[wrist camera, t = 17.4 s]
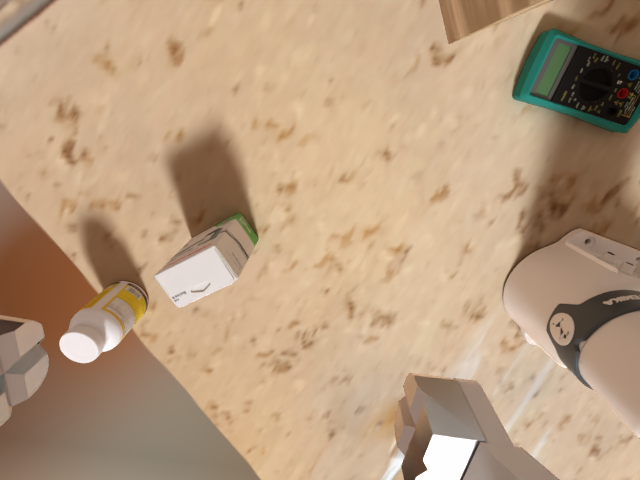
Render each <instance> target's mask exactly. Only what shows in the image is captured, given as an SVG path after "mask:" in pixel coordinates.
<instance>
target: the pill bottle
mask: <svg viewBox="0 0 640 480" xmlns="http://www.w3.org/2000/svg"><path fill="white" fill-rule="evenodd" d="M147 308H148V298H147V295H146V293H145V292H144V291H143V290H142V289H141V288H140V287H139V286H138V285H136V284H134V283H131V282H128V281H118V282H115V283H113V284H111V285H109V286H108V287H107V288H106V289H105V290H103V291H102V292H101V293H100V294H99V295H97V296H96V297H95V298H94V299H93V300H91V301H90V302H89V303H88V304H87V305H86V306H84V307H83V308H82V309H81V310H80V311H79V312H78V313H76V314H75V316H74V317H73V318H72V320H71V322H70V327H69V330H68V331H67V332H66V333H65V334H64V335H63V336H62V337H61V339H60V342H59V343H60V344H59V345H60V349H61V351H62V352H63V354H64V355H65V356H66V357H68V358H69V359H71V360H73V361H75V362H79V363H88V362H91V361H93V360H95V358H97V357H98V356H99V355H100V353H101V352H105V351H108V350H111V349H112V348H114V347H115V346H116V345H118V343H119V342H120V341H121V340H122V339H123V337H125V335H126V334H127V333H128V332H129V331H130V330H131V328H132V327H133V326H134V325H135V324H136V322H137V321H138V320H139V319H140V318H141V317H142V315H143V314H144V313H145V312H146V310H147Z"/></svg>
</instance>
